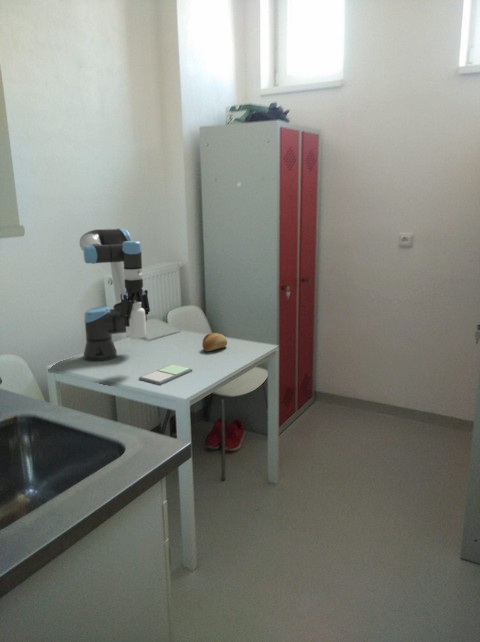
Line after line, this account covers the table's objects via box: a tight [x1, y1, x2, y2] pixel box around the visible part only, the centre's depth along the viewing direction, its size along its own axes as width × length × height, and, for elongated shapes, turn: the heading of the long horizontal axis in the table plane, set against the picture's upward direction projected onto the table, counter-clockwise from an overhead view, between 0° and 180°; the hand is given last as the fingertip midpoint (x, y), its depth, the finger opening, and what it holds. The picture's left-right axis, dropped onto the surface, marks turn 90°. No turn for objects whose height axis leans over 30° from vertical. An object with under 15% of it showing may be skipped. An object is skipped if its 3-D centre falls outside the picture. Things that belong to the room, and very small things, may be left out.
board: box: [138, 364, 193, 386], centre depth 213 cm, size 12×20×1 cm, turn 146°
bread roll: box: [201, 332, 228, 352], centre depth 249 cm, size 10×15×8 cm, turn 142°
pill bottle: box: [126, 301, 147, 339], centre depth 216 cm, size 8×8×15 cm
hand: (136, 331), depth 217 cm, fingers closed on pill bottle, 8 cm apart
